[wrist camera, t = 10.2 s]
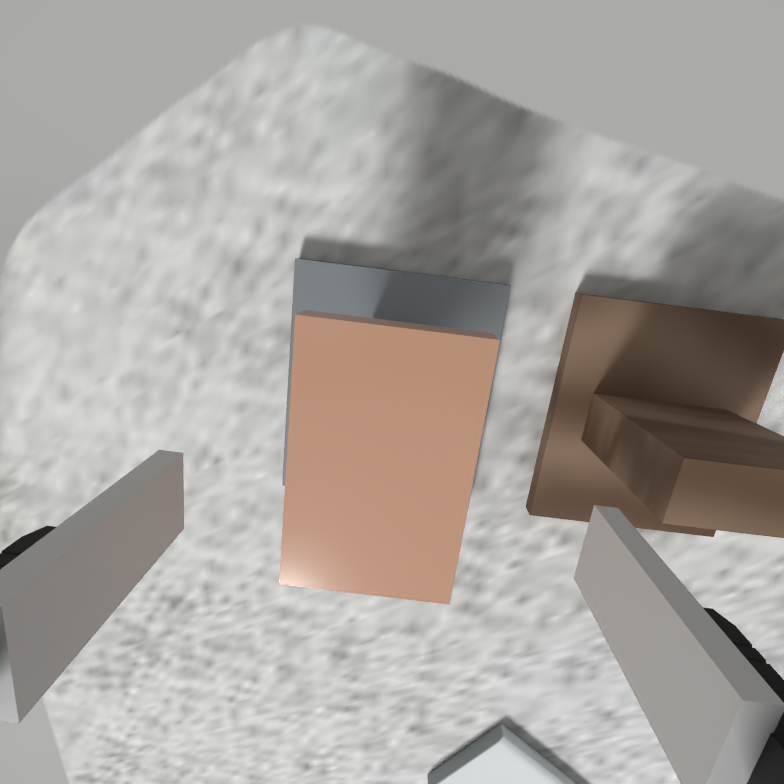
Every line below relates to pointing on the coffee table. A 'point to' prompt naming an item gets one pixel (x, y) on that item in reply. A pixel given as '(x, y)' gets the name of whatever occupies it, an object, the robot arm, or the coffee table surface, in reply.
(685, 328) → the walnut stand
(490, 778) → the external hard drive
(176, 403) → the coffee table surface
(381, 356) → the terracotta tile
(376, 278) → the slate stand
